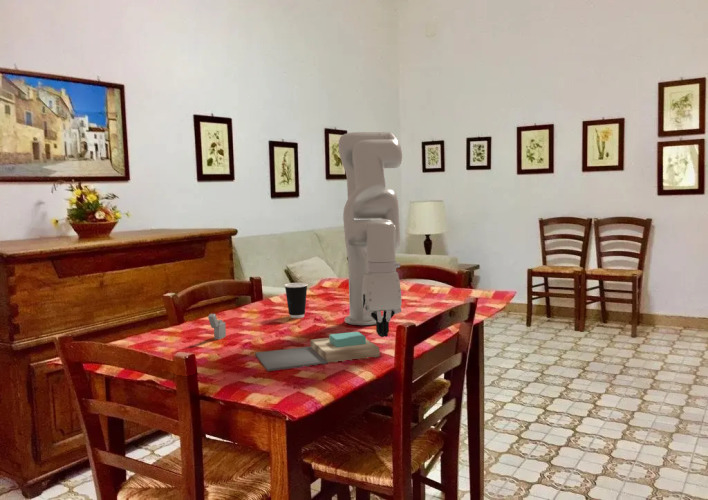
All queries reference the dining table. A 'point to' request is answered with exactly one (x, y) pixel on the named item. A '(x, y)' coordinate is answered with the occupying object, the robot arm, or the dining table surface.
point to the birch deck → (343, 350)
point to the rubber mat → (290, 358)
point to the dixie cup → (296, 299)
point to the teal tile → (347, 339)
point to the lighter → (217, 327)
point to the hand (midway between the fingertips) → (382, 335)
